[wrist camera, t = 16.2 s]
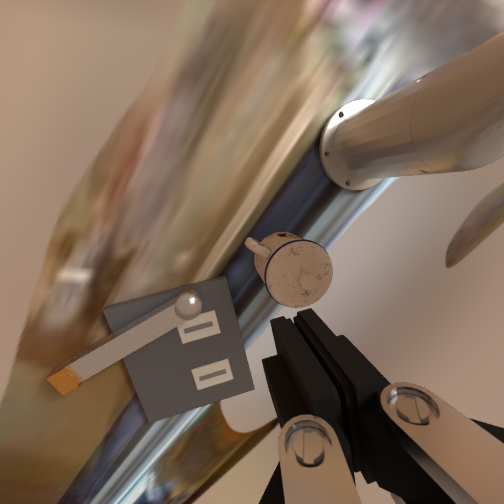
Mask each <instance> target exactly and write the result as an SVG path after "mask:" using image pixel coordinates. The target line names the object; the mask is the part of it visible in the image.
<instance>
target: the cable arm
mask: <svg viewBox="0 0 504 504" xmlns="http://www.w3.org/2000/svg"><path fill="white" fill-rule="evenodd" d="M201 310H202V297H201V295H200V293H199V292H198V291H196V290H194V289H185V290H183V291H181V292H180V293H179V294H178V296H176V297H175V298H173V299H171V300H169V301H168V302H166V303H164V304H163V305H161V306H159V307H157V308H156V309H154V310H152V311H150V312H149V313H147V314H145V315H143V316H142V317H140V318H138V319H137V320H135V321H133V322H131V323H130V324H128V325H126V326H124V327H123V328H121V329H119V330H117V331H116V332H114V333H112V334H110V335H109V336H107V337H105V338H104V339H102V340H100V341H98V342H97V343H95V344H93V345H91V346H90V347H88V348H86V349H84V350H83V351H81V352H79V353H77V354H76V355H74V356H72V357H71V358H69V359H67V360H65V361H64V362H62V363H60V364H58V365H57V366H56V367H55V368H54V370H53V371H52V372H51V373H50V374H49V375H48V377H47V378H46V380H47V381H48V382H49V383H50V384H51V385H53V386H54V387H55V388H56V389H57V390H58V391H59V392H60V393H61V394H62V395H65V394H67V393H68V392H70V391H72V390H74V389H75V388H77V387H79V386H80V384H81V382H82V381H84V380H86V379H88V378H89V377H91V376H93V375H94V374H96V373H98V372H100V371H101V370H103V369H105V368H107V367H108V366H110V365H112V364H113V363H115V362H117V361H119V360H120V359H122V358H124V357H125V356H127V355H129V354H131V353H132V352H134V351H136V350H137V349H139V348H141V347H143V346H144V345H146V344H148V343H149V342H151V341H153V340H155V339H156V338H158V337H160V336H161V335H163V334H165V333H167V332H168V331H170V330H172V329H174V328H175V327H177V326H179V325H180V324H182V323H184V322H186V321H187V320H193V319H195V318H197V317H198V316H199V314H200V313H201Z"/></svg>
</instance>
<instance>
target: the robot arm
mask: <svg viewBox="0 0 504 504" xmlns="http://www.w3.org/2000/svg"><path fill="white" fill-rule="evenodd" d="M338 115H339V116H338ZM319 153H320V160H321V164H322V167H323V169H324V171H325V173H326V175H327V176H328V177H329V179H330V180H331V181H332V182H334V183H335V184H336V185H338V186H339V187H341V188H344V189H347V190H364V189H368V188H370V187H373V186H375V185H376V184H378V183H379V182H381V181H382V180H383V179H384V178H388V177H400V176H413V175H425V174H438V173H449V172H462V171H469V170H473V169H477V168H481V167H483V166H486V165H488V164H490V163H493V162H494V161H496V160H498V159H500V158H501V157H503V156H504V31H503V32H502V33H500V34H498V35H496V36H495V37H493V38H491V39H490V40H488V41H486V42H484V43H483V44H481V45H479V46H477V47H476V48H474V49H472V50H470V51H468V52H467V53H465V54H463V55H461V56H459V57H457V58H455V59H454V60H452V61H450V62H448V63H446V64H444V65H443V66H441V67H439V68H437V69H435V70H433V71H431V72H429V73H428V74H426V75H424V76H422V77H420V78H418V79H416V80H414V81H413V82H411V83H409V84H407V85H405V86H403V87H401V88H399V89H398V90H396V91H394V92H392V93H390V94H388V95H386V96H384V97H383V98H381V99H379V100H377V101H373V100H367V99H361V100H355V101H352V102H349V103H347V104H345V105H344V106H342V107H341V108H339V109H338V110H336V111H335V112H334V113H333V115H332V116H331V117H330V118H329V120H328V121H327V123H326V124H325V126H324V129H323V131H322V134H321V138H320V145H319ZM325 153H326V156H325ZM345 183H346V184H345ZM293 320H294V323H293V322H292V320H291V319H290V318H289V319H286V318H285V317H284V316H282V317H278V318H275V319H272V320H270V322H271V327H272V332H273V336H274V341H275V345H276V350H277V355H275V356H271V357H268V358H265V359H262V363H263V367H264V372H265V376H266V380H267V383H268V388H269V391H270V394H271V398H272V401H273V404H274V407H275V411H276V414H277V417H278V420H279V424H280V427H281V432H280V435H279V438H278V450H279V458H280V461H279V463H278V465H277V467H276V469H275V471H274V473H273V475H272V477H271V479H270V481H269V484H268V486H267V488H266V490H265V492H264V494H263V496H262V499H261V500H260V502H259V504H362V503H361V501H360V498H359V495H358V493H357V490H356V484H355V477H354V472H359V471H361V473H362V475H363V477H364V479H365V480H366V482H367V484H370V483H372V482H375V481H376V482H377V484H378V485H379V487H381V488H383V489H385V490H387V491H389V492H390V493H391V496H392V498H393V500H394V501H395V503H396V504H504V428H501V427H497V426H494V425H491V424H487V423H484V422H480V421H477V420H473V419H470V418H468V417H466V416H465V415H463V414H462V413H461V412H459V411H458V410H457V409H455V408H454V407H452V406H451V405H450V404H448V403H447V402H445V401H444V400H443V399H441V398H440V397H439V396H437V395H435V394H434V393H433V392H431V391H430V390H428V389H426V388H425V387H422V386H419V385H416V384H413V383H407V382H399V383H398V382H397V383H394V384H390V382H388V380H387V379H386V378H385V377H383V375H382V374H381V373H380V372H379V371H378V370H377V369H376V368H375V367H374V366H373V365H372V364H371V363H370V362H369V361H368V360H367V358H365V356H364V355H363V354H362V353H361V352H360V351H359V350H358V349H357V348H356V347H355V346H354V345H353V344H352V343H351V342H350V341H349V340H348V339H347V338H346V337H345V336H344V335H339V336H336V335H335V334H334V333H333V332H332V331H331V330H330V329H329V328H328V326H327V325H326V324H325V323H324V322H323V321H322V320H321V319H320V318H319V317H318V315H317V314H316V313H315V312H314V311H313V310H312V309H311V308H310V309H307V310H303V311H299V312H297V316H296V317H294V318H293Z"/></svg>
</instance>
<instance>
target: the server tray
mask: <svg viewBox="0 0 504 504" xmlns="http://www.w3.org/2000/svg"><path fill="white" fill-rule="evenodd" d="M185 289H194V290H196V291H198V292H199V293H200V295H201V297H202V310H201V313H200V314H199V316H198V317H197V318H195V319H193V320H187V321H186V322H184V323H182V324H180V325H179V326H177V327H175V328H174V329H172V330H170V331H168V332H167V333H165V334H163V335H161V336H160V337H158V338H156V339H155V340H153V341H151V342H149V343H148V344H146V345H144V346H143V347H141V348H139V349H137V350H136V351H134V352H132V353H131V354H129V355H127V356H125V357H124V358H123V361H124V363H125V366H126V368H127V371H128V373H129V375H130V378H131V380H132V383H133V385H134V387H135V390H136V392H137V395H138V397H139V400H140V402H141V404H142V407H143V409H144V412H145V414H146V417H147V419H148V421H149V423H152V422H155V421H158V420H161V419H164V418H167V417H171V416H174V415H177V414H180V413H183V412H186V411H189V410H192V409H195V408H198V407H202V406H205V405H208V404H211V403H214V402H217V401H220V400H223V399H226V398H229V397H232V396H236V395H239V394H242V393H245V392H248V391H251V390H254V384H253V380H252V377H251V373H250V369H249V365H248V361H247V357H246V353H245V349H244V345H243V341H242V337H241V333H240V329H239V325H238V321H237V317H236V313H235V309H234V305H233V301H232V297H231V293H230V290H229V286H228V282H227V278H226V275H224V276H220V277H216V278H212V279H209V280H205V281H201V282H197V283H193V284H189V285H186V286H182V287H178V288H174V289H170V290H166V291H163V292H159V293H155V294H151V295H147V296H143V297H140V298H136V299H132V300H128V301H124V302H120V303H117V304H113V305H109V306H106V308H105V309H104V310H103V312H104V315H105V317H106V320H107V322H108V324H109V327H110V329H111V332H112V333H114V332H116V331H117V330H119V329H121V328H123V327H124V326H126V325H128V324H130V323H131V322H133V321H135V320H137V319H138V318H140V317H142V316H143V315H145V314H147V313H149V312H150V311H152V310H154V309H156V308H157V307H159V306H161V305H163V304H164V303H166V302H168V301H169V300H171V299H173V298H175V297H176V296H178V294H179V293H180V292H181V291H183V290H185Z"/></svg>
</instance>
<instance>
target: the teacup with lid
mask: <svg viewBox="0 0 504 504" xmlns="http://www.w3.org/2000/svg"><path fill="white" fill-rule="evenodd" d="M245 246H246V247H247V248H249V249H250V250H251V251H253V252H254V253H255V256H254V263H255V268H256V270H257V272H258V274H259V275H260V277H261V278H262V280H263V282H264V283H265V286H266V289H267V291H268V293H269V294H270V296H271V297H272V298H273V299H274V300H275V301H276V302H278V303H280V304H281V305H284V306H287V307H292V308H300V307H305V306H308V305H311V304H313V303H315V302H316V301H318V300H319V299H320V298H321V297H322V296H323V295H324V294H325V293H326V291H327V289H328V288H329V286H330V283H331V280H332V275H333V267H332V262H331V260H330V257H329V255H328V253H327V252H326V251H325V249H324V248H323V247H322V246H320V245H319V244H317V243H315V242H313V241H310V240H305V239H302V238H300V237H298V236H296V235H294V234H292V233H289V232H276V233H273V234H270V235H268V236H267V237H265V238H264V239H263V240H262V241H261V242H258V241H257V240H255V239H253V238H247V239H246V241H245Z"/></svg>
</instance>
